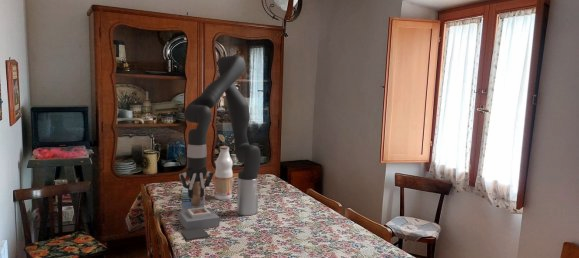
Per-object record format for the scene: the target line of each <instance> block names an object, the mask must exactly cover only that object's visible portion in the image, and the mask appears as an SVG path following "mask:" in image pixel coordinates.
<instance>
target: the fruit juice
mask: <svg viewBox="0 0 579 258" xmlns="http://www.w3.org/2000/svg"><path fill="white" fill-rule="evenodd" d="M219 150H220V152H219V154H218V157H217V159H216V160H215V171H214V198H215V199H216V200H220V201H225V200H230V199H232V197H233V169H232V168H233V164H234V162H233V159H232V157H231V155H230V147H229V146H227V145H222V146H219Z"/></svg>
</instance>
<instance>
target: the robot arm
mask: <svg viewBox="0 0 579 258" xmlns="http://www.w3.org/2000/svg"><path fill="white" fill-rule="evenodd" d="M246 65H247V64H246V61H245V58H243V56H242V55H236V54H235V55H226V56H225V55H223V56H221V57H220V58H219V59H218V62H217V69H218V73H219V76H220V77H218V78H216V79H214V80H213V81H211V82H210V83H209V84H208V85H207V86H206V87H205V88H204V90H203V91H202V93H201V94H200V95H199V96H198V97H196V98H195V99H194V100H192V101H191V102H189V104H187V106H186V107H185V109H184V112H183V113H184V114H183V116H184V119H185V121H187V122H189V123H195V124H197V127H196V128H191V129H190V130H188V133H187V134H188V135H187V136H188V137H187V138H188V139H187V150H186V153H187V154H186V169H185V172H182V173H179V174H178V176H179V179H180V181H181V184H182V186H183V187H182V188H185V189H188V197H189V198H190V199H192V195H193V190H192V187H193V184H194V181H197V180H198V181H201V198H202V197H203V196H204V189H206V187H207V188H208V187H209V186H210V183H211V182H212V179H213V177H214V172H212V171H210V170H209V171H208V169H207V156H208V153H207V152H208V150H207V148H208V147H207V135H208V131H209V128H210V123H211V121H212V117H213V116H212V110H211V109H213V108H214V107H215V106H216V105H217V103H218V102H219V100H220V99H221V97H222V96H223V95H224V94H225V98H226V104H227V109H228V116H229V118H230V122H231V123H230V124H231V128H232V133H233V143H234V153H235V157H236V159H237V161H239V162H241V163H242V164H243V169H241V170H239V171H238V173H237V179H238V180H237V195H236V196H237V198H236V200H237V201H236V203H237V204H236V214H238V215H240V216H253V215H255V214H258V213H259V212H258V211H259V193H258V176H259V173H260V170H261V169H260V168H261V150H260V148H259V147H258V146H257V145H254V144H253V145H252V144H250V143H249V138H248V127H249V124H250V121H251V116H250V115H251V114H250V109H249V104H248V102H247V99H246V98H245V97H244V96H243V94H242V93H241V92H240V91H239V89H238V88H237V85H236V81H237V80H238V79H240V77H241V76H243V74H244V72H245V71H246V67H247V66H246ZM186 176H187V177H188V182H187V181H186V178H187V177H186ZM205 176H206V179H205V180H204V178H205ZM187 183H188V184H187Z"/></svg>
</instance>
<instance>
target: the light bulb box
mask: <svg viewBox="0 0 579 258" xmlns="http://www.w3.org/2000/svg"><path fill="white" fill-rule="evenodd" d="M205 189H206V188H204V196H203V197H202V198H200V206H197V207H193V206H191V199H190V198H189V197H188V189H185V188H184V187H182V190H181V204H180V205H181V207H180V208H181V210H180V211H186V210H187V209H194V208H203V207H205V200H206V199H205V197H206V195H205V194H206V191H205Z"/></svg>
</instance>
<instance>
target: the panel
mask: <svg viewBox="0 0 579 258" xmlns="http://www.w3.org/2000/svg"><path fill="white" fill-rule="evenodd" d="M196 211H202V212H203V213H198V214H195V212H196ZM220 217H221V216H219V215H218V214H216V212H215V211H213V210H212V209H211V208H210V207H205V206H204V207H203V208H194V209H187V210H186V211H181V210H180V211H179V210H178V221H179V222H180V224H181V225H182V227H183V228H184V229H185V231H186V230H193V229H200V228H203V229H204V230H205V229H211V228H216V227H220Z"/></svg>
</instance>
